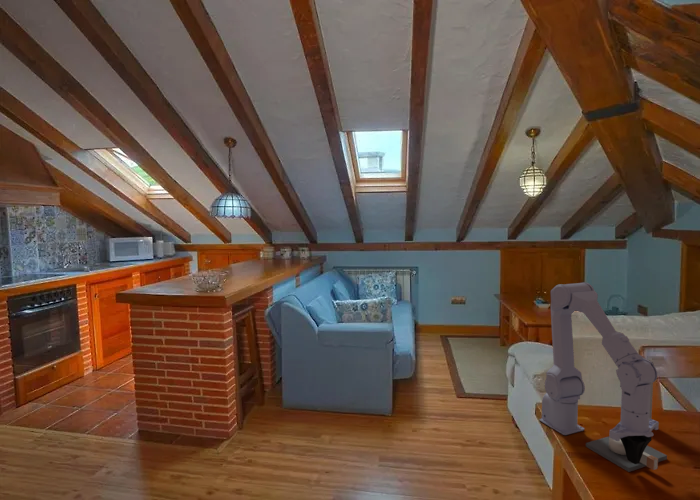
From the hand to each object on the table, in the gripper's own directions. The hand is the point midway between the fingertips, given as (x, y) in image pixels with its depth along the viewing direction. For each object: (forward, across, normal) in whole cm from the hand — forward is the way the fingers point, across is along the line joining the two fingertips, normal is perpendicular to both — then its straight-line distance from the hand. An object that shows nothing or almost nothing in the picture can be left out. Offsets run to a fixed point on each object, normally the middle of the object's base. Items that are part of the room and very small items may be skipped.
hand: (633, 461), depth 100 cm
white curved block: (+1, +4, +3) cm, 5 cm away
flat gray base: (+2, +6, +6) cm, 9 cm away
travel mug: (+3, +24, +15) cm, 28 cm away
